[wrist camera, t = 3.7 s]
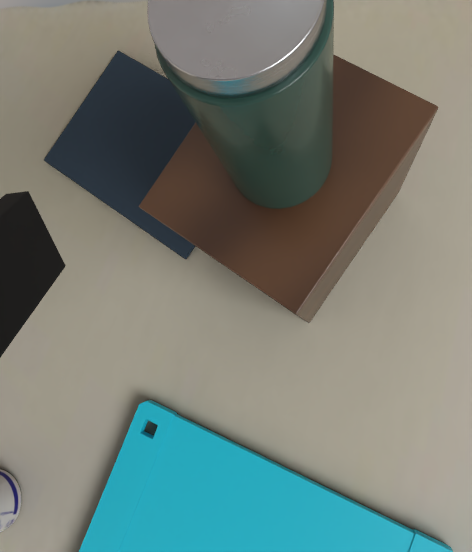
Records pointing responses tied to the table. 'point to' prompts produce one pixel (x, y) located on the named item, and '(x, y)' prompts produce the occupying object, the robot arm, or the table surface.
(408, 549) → the diskette
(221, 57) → the green can
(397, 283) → the table surface
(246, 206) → the walnut shelf
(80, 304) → the table surface
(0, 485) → the energy drink
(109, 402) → the table surface
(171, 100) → the felt mat
